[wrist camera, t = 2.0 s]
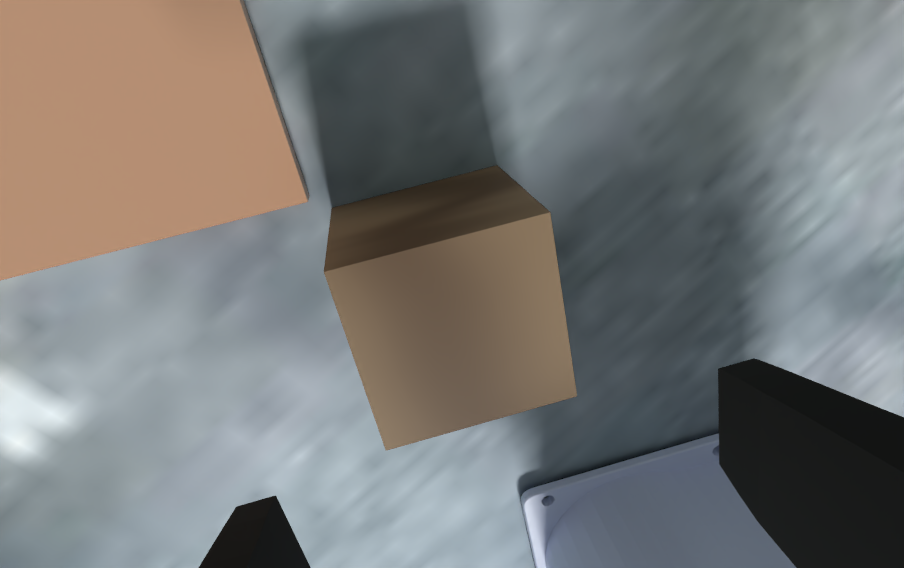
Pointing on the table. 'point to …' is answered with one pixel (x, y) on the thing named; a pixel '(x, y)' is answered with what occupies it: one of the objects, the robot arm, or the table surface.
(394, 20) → the table surface
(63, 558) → the table surface
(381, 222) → the walnut block
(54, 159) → the terracotta tile
